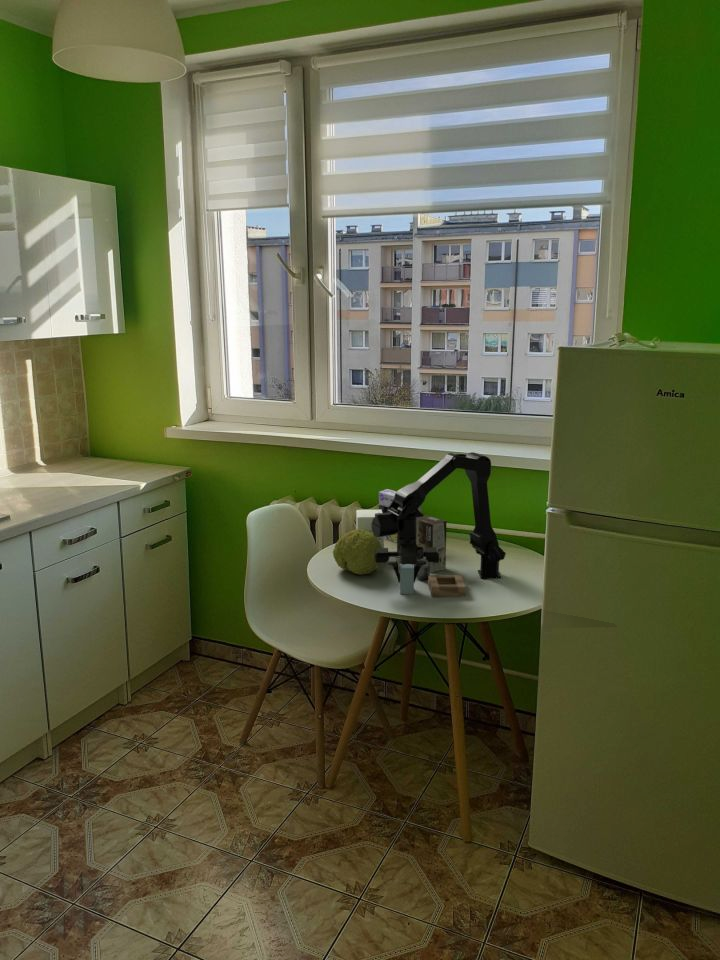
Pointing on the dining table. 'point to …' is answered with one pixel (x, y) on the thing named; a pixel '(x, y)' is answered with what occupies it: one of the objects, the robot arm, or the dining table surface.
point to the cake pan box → (384, 503)
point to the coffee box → (433, 538)
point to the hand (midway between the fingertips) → (406, 582)
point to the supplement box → (367, 521)
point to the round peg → (424, 572)
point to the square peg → (406, 579)
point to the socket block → (446, 586)
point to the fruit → (357, 551)
